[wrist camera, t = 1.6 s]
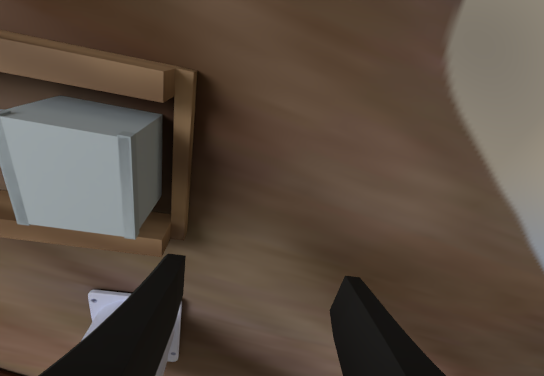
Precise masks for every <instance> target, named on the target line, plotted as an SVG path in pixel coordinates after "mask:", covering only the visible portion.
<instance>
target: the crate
mask: <svg viewBox="0 0 544 376" xmlns="http://www.w3.org/2000/svg"><path fill="white" fill-rule="evenodd" d="M0 166H1V169H2V173H3V176H4V180H5V183H6V186H7V190H8V193H9V197H10V200H11V203H12V207H13V210H14V214H15V217H16V221H17V224H20V225H28V226H30V225H39V226H46V227H54V228H61V229H69V230H76V231H84V232H92V233H99V234H107V235H114V236H122V237H124V238H127V239H134V240H135V239H136V238H137V236H138V235H139V229H140V227H141V226H142V224H143V223H144V221H145V220H146V218H147V217H148V215H149V214H150V212H151V211H152V209H153V208H154V206H155V205H156V203H157V202H158V200H159V199H160V197H161V196H162V114H157V113H151V112H146V111H141V110H135V109H130V108H125V107H119V106H114V105H109V104H103V103H98V102H93V101H87V100H82V99H77V98H71V97H66V96H61V95H60V96H56V97H52V98H48V99H44V100H41V101H37V102H33V103H29V104H25V105H21V106H17V107H13V108H9V109H5V110H2V109H0Z"/></svg>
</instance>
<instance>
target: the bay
mask: <svg viewBox="0 0 544 376" xmlns="http://www.w3.org/2000/svg"><path fill="white" fill-rule="evenodd" d="M197 71H198V70H193V69H188V68H183V67H178V66H174V65H169V64H164V63H159V62H154V61H149V60H145V59H140V58H135V57H130V56H125V55H121V54H116V53H111V52H106V51H101V50H96V49H92V48H87V47H82V46H77V45H72V44H67V43H63V42H58V41H53V40H48V39H43V38H38V37H34V36H29V35H24V34H19V33H14V32H9V31H5V30H0V72H4V73H9V74H14V75H20V76H25V77H30V78H35V79H41V80H46V81H51V82H56V83H62V84H67V85H72V86H77V87H83V88H88V89H93V90H98V91H104V92H109V93H114V94H120V95H125V96H130V97H135V98H141V99H146V100H151V101H156V102H162V103H164V102H165V101H167V100H169V99H170V98H172V97H174V130H173V165H172V200H171V214H166V213H159V212H152V211H151V212H150V214H149V215H148V217H147V218H146V220H145V221H144V223H143V224H142V226H141V227H140V229H139V235H138V236H137V238H136V239H135V240H134V239H127V238H124V237H122V236H114V235H107V234H99V233H92V232H84V231H76V230H69V229H61V228H54V227H46V226H39V225H30V226H28V225H20V224H17V221H16V217H15V214H14V210H13V207H12V203H11V200H10V197H9V193H8V191H4V190H0V237H3V238H11V239H20V240H28V241H36V242H44V243H52V244H60V245H68V246H76V247H85V248H93V249H101V250H109V251H117V252H125V253H133V254H142V255H150V256H158V257H162V255H163V253H164V251H165V249H166V247H167V245H168V243H169V240H170V238H171V239H178V240H184V239H185V236H186V234H187V227H188V211H189V195H190V180H191V164H192V149H193V133H194V117H195V102H196V86H197Z"/></svg>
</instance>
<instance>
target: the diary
mask: <svg viewBox="0 0 544 376" xmlns="http://www.w3.org/2000/svg"><path fill="white" fill-rule="evenodd" d="M0 376H22V375H18V374H15V373H12V372H8V371H5V370H1V369H0Z"/></svg>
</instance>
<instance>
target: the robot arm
mask: <svg viewBox="0 0 544 376" xmlns="http://www.w3.org/2000/svg"><path fill="white" fill-rule="evenodd" d="M184 271H185V256H183V255H175V254H167V255H166V256H165V257H164V258H163V259H162V261H161V262H160V263H159V264H158V265H157V267H156V268H155V269H154V270H153V271H152V272H151V274H150V275H149V276H148V277H147V278H146V279H145V280H144V281H143V282H142V284H141V285H140V286H139V287H138V288H137V289H136V290H135V291H134V292H133V293H132V294H131V293H122V292H113V291H103V290H91V291H90V292H89V294H88V300H89V305H90V311H91V317H92V324H91V326H90V327H89V329H88V330H87V332H86V334H85V335H84V337H83V339H82V340H81V342H80V343H79V344H77V345H76V346H75V347H74V348H73V349H71V350H70V351H69V352H68V353H67V354H65V355H64V356H63V357H62V358H60V359H59V360H58V361H57V362H55V363H54V364H53V365H52V366H50V367H49V368H48V369H46V370H45V371H44V372H43V373H41V374H40V375H39V376H163V374H164V371H165V368H166V364H167V361H170V362H175V361H177V360H178V357H179V344H180V328H181V312H182V301H181V300H182V296H183V287H184ZM330 316H331V324H332V331H333V337H334V342H335V346H336V350H337V354H338V358H339V361H340V365H341V369H342V373H343V376H446V375H445V374H444V373H443V372H442V371H441V370H440V369H439V368H438V367H437V366H436V365H435V364H434V363H433V362H432V361H431V360H430V359H429V358H428V357H427V356H426V355H425V354H424V353H423V351H422V350H421V349H420V348H419V347H418V346H417V345H416V344H415V343H414V342H413V341H412V339H411V338H410V337H409V336H408V335H407V334H406V333H405V331H404V330H403V329H402V328H401V327H400V326H399V324H398V323H397V322H396V321H395V320H394V319H393V317H392V316H391V315H390V314H389V313H388V311H387V310H386V309H385V308H384V306H383V305H382V304H381V303H380V302H379V300H378V299H377V298H376V297H375V295H374V294H373V293H372V292H371V290H370V289H369V288H368V287H367V286H366V284H365V283H364V282H363V281H362V280H361V279H360V278H359V277H351V276H345V277H344V279H343V282H342V284H341V286H340V288H339V291H338V293H337V295H336V297H335V300H334V302H333V304H332V306H331V309H330Z"/></svg>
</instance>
